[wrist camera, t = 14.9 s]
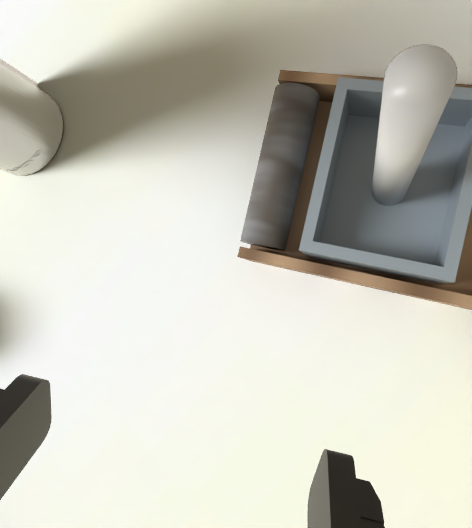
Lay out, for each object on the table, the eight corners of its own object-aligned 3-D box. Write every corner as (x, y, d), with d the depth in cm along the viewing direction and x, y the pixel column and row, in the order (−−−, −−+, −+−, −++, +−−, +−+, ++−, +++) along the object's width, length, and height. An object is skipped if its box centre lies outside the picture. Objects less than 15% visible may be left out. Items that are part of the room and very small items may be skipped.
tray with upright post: (307, 256, 34) (254, 216, 17) (341, 107, 34) (322, -81, 17) (440, 284, 31) (538, 269, 14) (476, 121, 31) (618, -90, 14)
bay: (247, 260, 37) (231, 254, 32) (285, 93, 37) (274, 64, 32) (606, 339, 29) (652, 347, 24) (652, 128, 29) (707, 96, 24)
